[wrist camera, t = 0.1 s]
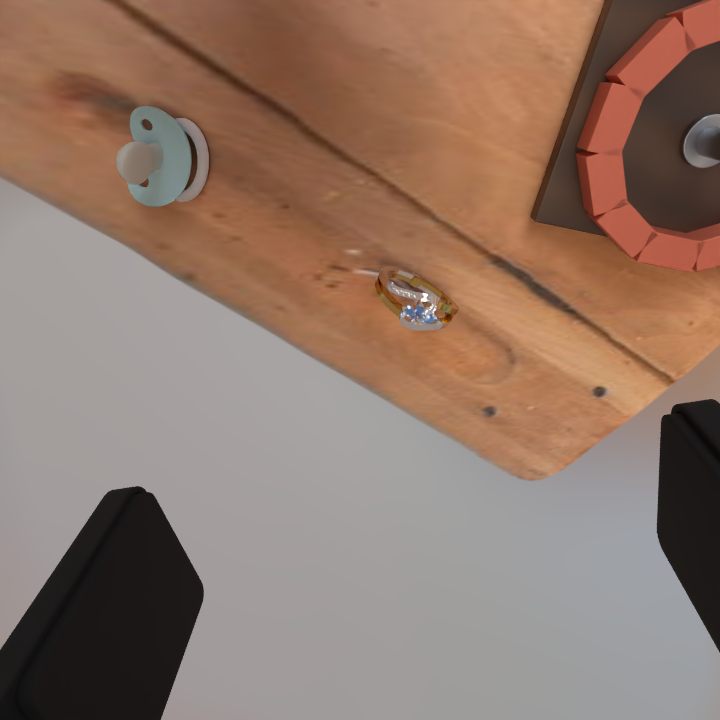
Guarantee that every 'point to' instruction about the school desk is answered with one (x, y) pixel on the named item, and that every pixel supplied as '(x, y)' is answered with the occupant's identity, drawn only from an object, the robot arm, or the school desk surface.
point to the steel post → (702, 142)
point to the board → (640, 131)
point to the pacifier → (162, 158)
